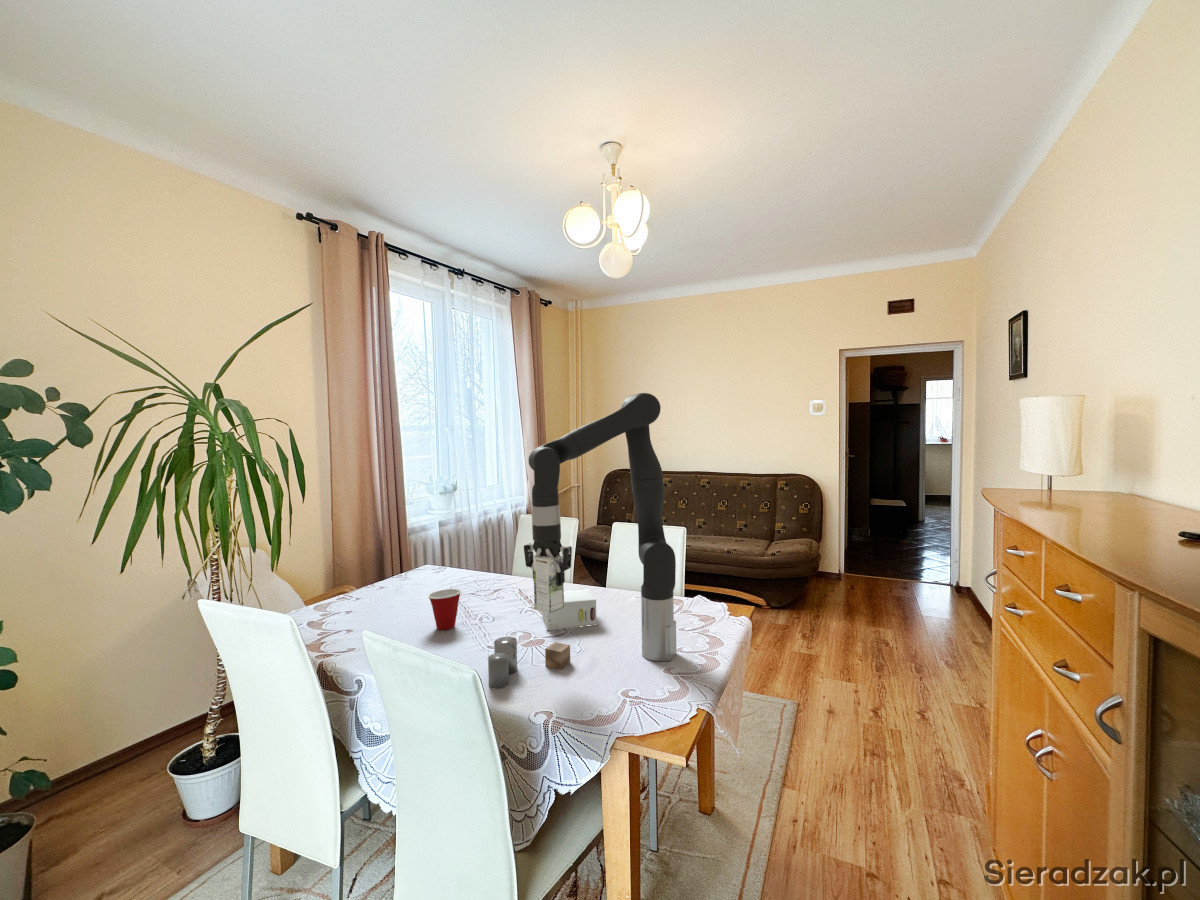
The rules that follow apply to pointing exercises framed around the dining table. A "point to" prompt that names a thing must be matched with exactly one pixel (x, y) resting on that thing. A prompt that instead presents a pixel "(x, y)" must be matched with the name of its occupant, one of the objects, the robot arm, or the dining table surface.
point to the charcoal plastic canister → (498, 670)
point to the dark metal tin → (507, 651)
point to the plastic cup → (445, 607)
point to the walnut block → (557, 655)
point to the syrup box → (547, 585)
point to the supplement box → (573, 611)
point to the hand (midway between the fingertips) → (548, 584)
